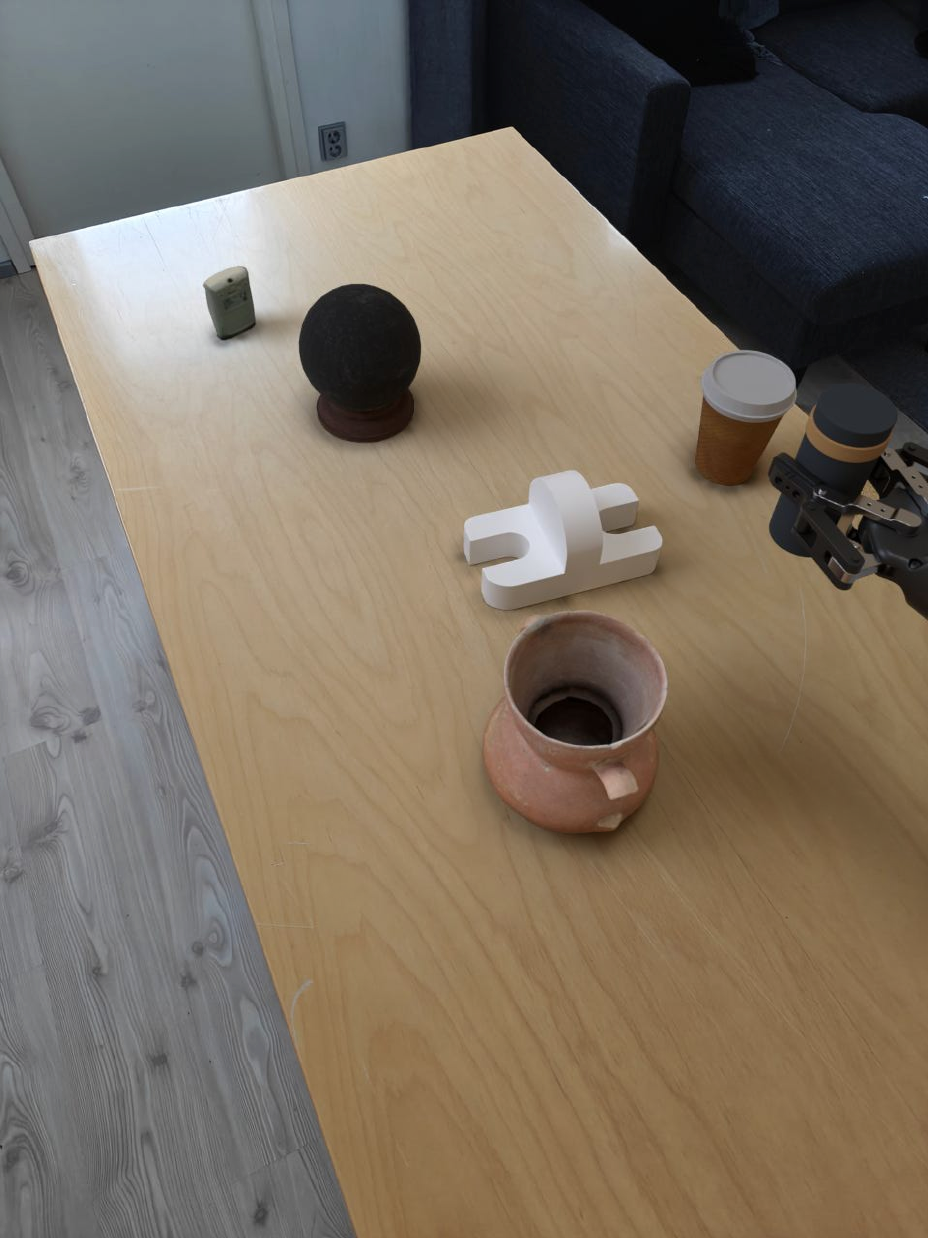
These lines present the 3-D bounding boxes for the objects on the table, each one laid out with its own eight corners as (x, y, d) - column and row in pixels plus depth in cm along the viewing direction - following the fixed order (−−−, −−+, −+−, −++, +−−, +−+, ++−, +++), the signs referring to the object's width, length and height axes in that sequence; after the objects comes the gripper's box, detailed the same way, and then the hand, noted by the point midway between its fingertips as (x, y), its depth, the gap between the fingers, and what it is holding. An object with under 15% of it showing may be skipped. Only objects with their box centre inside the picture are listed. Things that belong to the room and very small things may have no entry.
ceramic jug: (687, 831, 76) (728, 745, 64) (520, 883, 73) (533, 802, 61) (601, 658, 86) (623, 558, 75) (452, 698, 83) (452, 599, 72)
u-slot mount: (491, 615, 89) (495, 546, 81) (459, 544, 94) (460, 473, 86) (661, 571, 92) (680, 501, 85) (621, 504, 98) (636, 433, 90)
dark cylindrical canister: (825, 505, 71) (883, 379, 62) (848, 557, 68) (913, 432, 59) (758, 509, 71) (805, 383, 61) (778, 561, 68) (831, 437, 58)
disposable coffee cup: (663, 451, 103) (685, 362, 93) (731, 426, 106) (760, 337, 96) (714, 507, 98) (743, 419, 88) (785, 478, 101) (821, 390, 91)
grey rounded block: (245, 348, 113) (232, 290, 107) (205, 340, 114) (191, 282, 108) (263, 321, 117) (252, 263, 110) (224, 314, 117) (211, 256, 111)
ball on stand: (443, 394, 108) (442, 279, 97) (386, 463, 101) (378, 348, 89) (347, 360, 112) (335, 246, 100) (286, 425, 105) (264, 309, 93)
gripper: (1107, 513, 57) (887, 368, 65) (960, 619, 52) (742, 447, 60) (1045, 590, 63) (851, 448, 71) (908, 691, 58) (716, 525, 66)
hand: (802, 448), depth 66 cm, fingers closed on dark cylindrical canister, 5 cm apart
